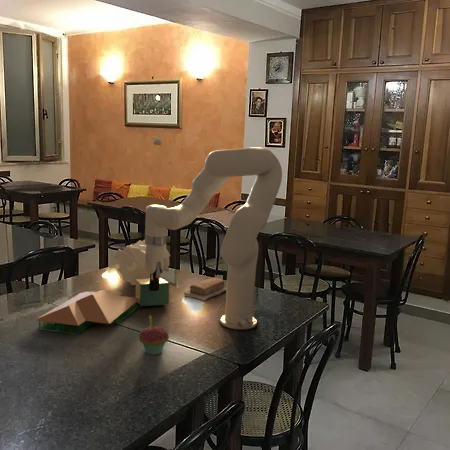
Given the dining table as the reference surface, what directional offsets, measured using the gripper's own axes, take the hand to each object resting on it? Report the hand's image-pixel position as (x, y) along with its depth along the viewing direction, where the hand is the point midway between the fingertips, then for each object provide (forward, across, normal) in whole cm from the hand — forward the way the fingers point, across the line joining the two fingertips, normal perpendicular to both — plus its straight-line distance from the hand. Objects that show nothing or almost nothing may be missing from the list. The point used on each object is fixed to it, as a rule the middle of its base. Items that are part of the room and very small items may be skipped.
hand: (154, 290), depth 180 cm
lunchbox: (+7, -6, +1) cm, 9 cm away
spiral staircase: (+8, -37, +5) cm, 38 cm away
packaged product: (+7, -14, +25) cm, 30 cm away
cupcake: (+7, +35, -8) cm, 36 cm away
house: (+8, +2, -22) cm, 23 cm away
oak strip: (+7, -13, +1) cm, 15 cm away
